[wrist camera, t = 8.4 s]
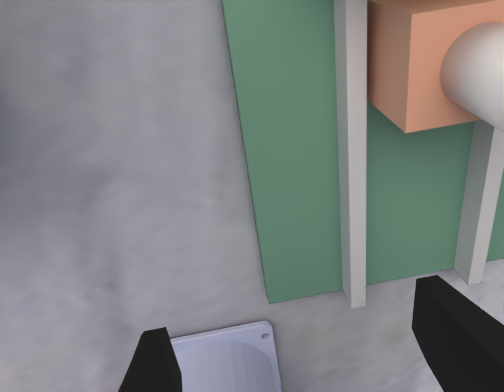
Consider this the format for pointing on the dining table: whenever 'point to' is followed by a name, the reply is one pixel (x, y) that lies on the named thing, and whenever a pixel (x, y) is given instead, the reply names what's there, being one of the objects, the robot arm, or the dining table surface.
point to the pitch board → (351, 161)
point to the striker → (436, 62)
